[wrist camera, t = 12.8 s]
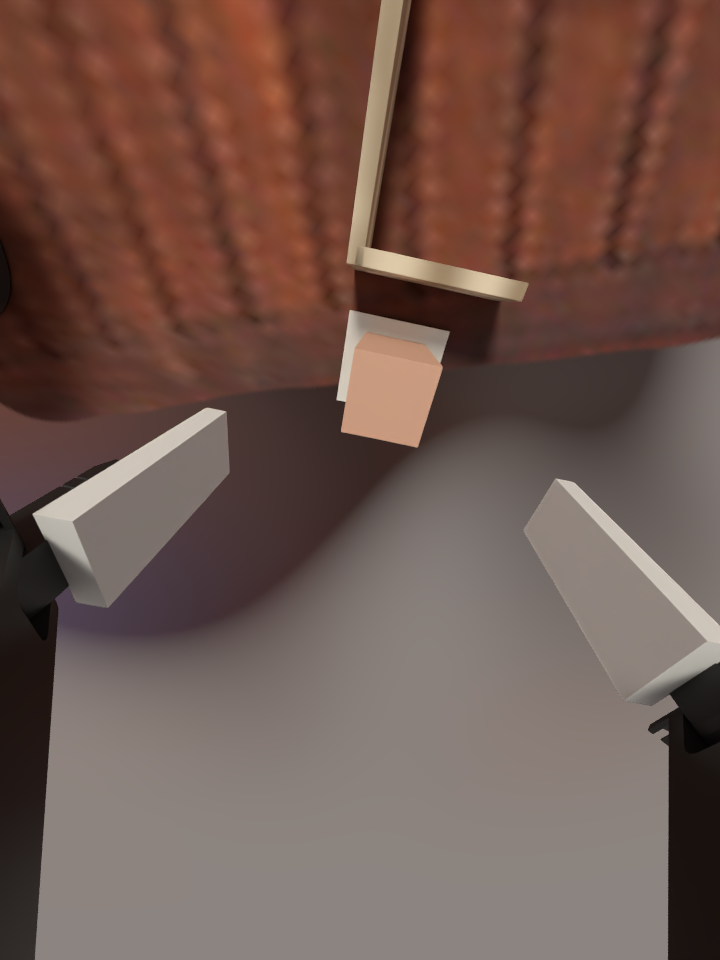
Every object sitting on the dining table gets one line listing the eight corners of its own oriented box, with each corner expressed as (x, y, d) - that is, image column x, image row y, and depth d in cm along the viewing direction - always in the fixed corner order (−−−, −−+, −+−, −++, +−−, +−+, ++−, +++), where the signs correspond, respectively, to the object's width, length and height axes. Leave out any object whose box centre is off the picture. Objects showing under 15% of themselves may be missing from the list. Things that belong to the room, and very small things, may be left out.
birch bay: (354, 269, 28) (346, 262, 23) (436, -299, 16) (460, -594, 10) (497, 301, 28) (521, 301, 23) (692, -230, 16) (837, -483, 11)
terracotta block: (366, 331, 30) (354, 348, 20) (424, 344, 30) (442, 367, 20) (355, 390, 33) (341, 431, 23) (408, 402, 33) (417, 447, 23)
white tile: (337, 398, 35) (336, 400, 34) (350, 309, 30) (349, 309, 29) (422, 416, 35) (423, 418, 34) (448, 331, 30) (449, 331, 30)
